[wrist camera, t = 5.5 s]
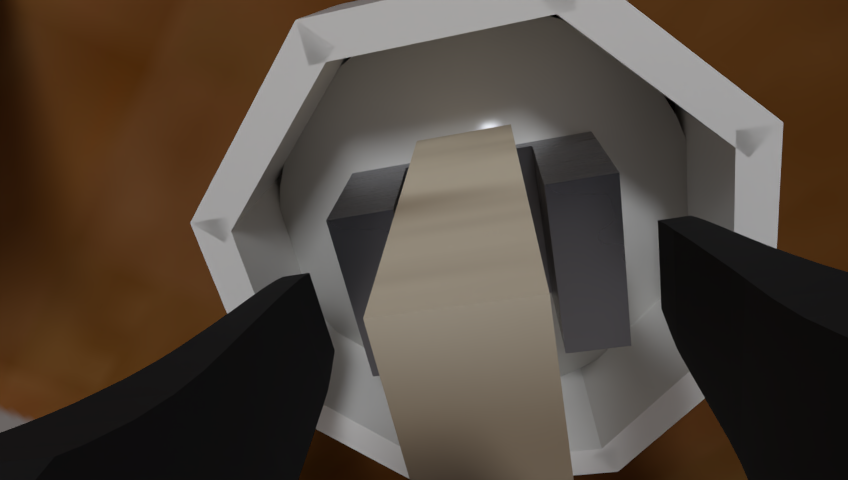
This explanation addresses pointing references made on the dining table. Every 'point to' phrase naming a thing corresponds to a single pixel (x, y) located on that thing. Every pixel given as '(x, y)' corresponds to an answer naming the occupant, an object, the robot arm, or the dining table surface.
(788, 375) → the robot arm
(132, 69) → the dining table surface
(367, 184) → the clip
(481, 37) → the bowl
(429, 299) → the wood grain plank
